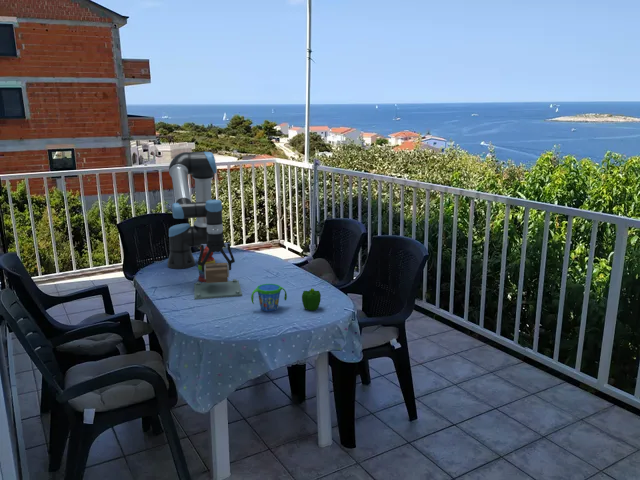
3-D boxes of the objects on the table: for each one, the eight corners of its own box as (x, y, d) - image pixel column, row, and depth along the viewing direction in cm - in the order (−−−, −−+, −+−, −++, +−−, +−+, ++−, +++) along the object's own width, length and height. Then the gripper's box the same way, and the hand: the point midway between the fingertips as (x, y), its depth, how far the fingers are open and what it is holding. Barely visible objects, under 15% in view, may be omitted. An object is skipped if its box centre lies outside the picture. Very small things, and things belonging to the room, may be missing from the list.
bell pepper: (302, 305, 234) (302, 284, 232) (320, 305, 234) (320, 284, 231) (301, 312, 226) (301, 290, 223) (320, 312, 225) (320, 290, 223)
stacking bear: (221, 277, 275) (219, 244, 271) (215, 282, 266) (213, 249, 262) (201, 276, 276) (199, 243, 272) (194, 282, 267) (192, 248, 263)
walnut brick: (206, 275, 258) (206, 263, 256) (227, 274, 260) (226, 262, 258) (206, 283, 245) (205, 270, 244) (227, 281, 247) (227, 269, 246)
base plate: (194, 285, 262) (194, 281, 261) (238, 282, 267) (238, 278, 266) (194, 299, 241) (194, 295, 241) (242, 296, 246) (242, 292, 246)
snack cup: (285, 303, 236) (284, 282, 234) (288, 311, 226) (288, 289, 224) (250, 306, 233) (249, 284, 230) (252, 314, 223) (252, 292, 220)
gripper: (190, 235, 241) (192, 281, 246) (239, 233, 246) (241, 278, 251) (190, 232, 248) (192, 276, 253) (238, 229, 253) (240, 273, 258)
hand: (217, 277), depth 252 cm, fingers closed on walnut brick, 10 cm apart
